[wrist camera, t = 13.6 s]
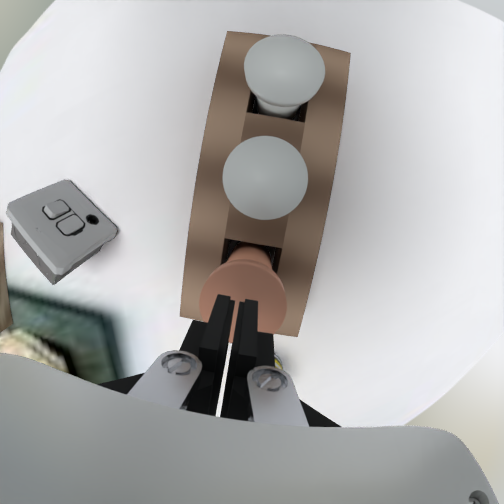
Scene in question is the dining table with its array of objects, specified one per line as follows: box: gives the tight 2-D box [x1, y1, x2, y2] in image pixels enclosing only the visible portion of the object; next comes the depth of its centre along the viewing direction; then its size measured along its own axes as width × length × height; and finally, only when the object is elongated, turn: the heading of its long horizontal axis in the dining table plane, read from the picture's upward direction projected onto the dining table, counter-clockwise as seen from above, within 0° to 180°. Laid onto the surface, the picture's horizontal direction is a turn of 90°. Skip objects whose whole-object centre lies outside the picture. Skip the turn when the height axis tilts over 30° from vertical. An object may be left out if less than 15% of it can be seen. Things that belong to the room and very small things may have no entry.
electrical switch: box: [6, 180, 117, 285], centre depth 24 cm, size 9×5×9 cm, turn 49°
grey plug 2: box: [223, 136, 308, 220], centre depth 21 cm, size 5×5×10 cm
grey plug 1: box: [244, 35, 325, 120], centre depth 19 cm, size 5×5×10 cm
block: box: [180, 31, 351, 337], centre depth 23 cm, size 24×10×6 cm, turn 170°
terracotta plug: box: [199, 241, 287, 343], centre depth 20 cm, size 5×5×10 cm
